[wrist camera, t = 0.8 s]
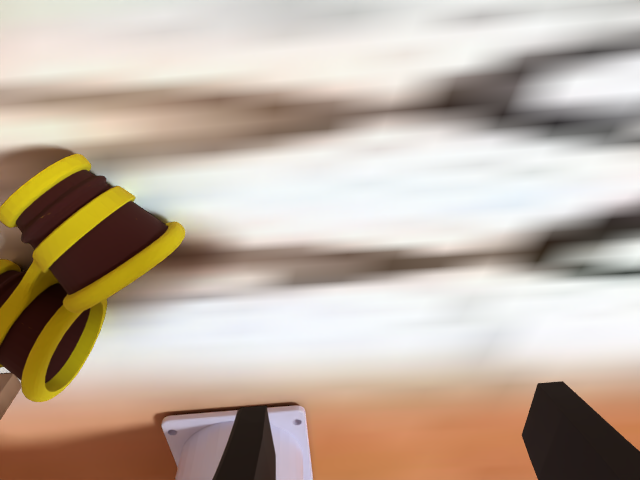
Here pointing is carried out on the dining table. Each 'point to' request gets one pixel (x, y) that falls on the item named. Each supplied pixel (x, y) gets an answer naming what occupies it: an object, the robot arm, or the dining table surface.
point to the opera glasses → (70, 269)
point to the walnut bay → (8, 391)
